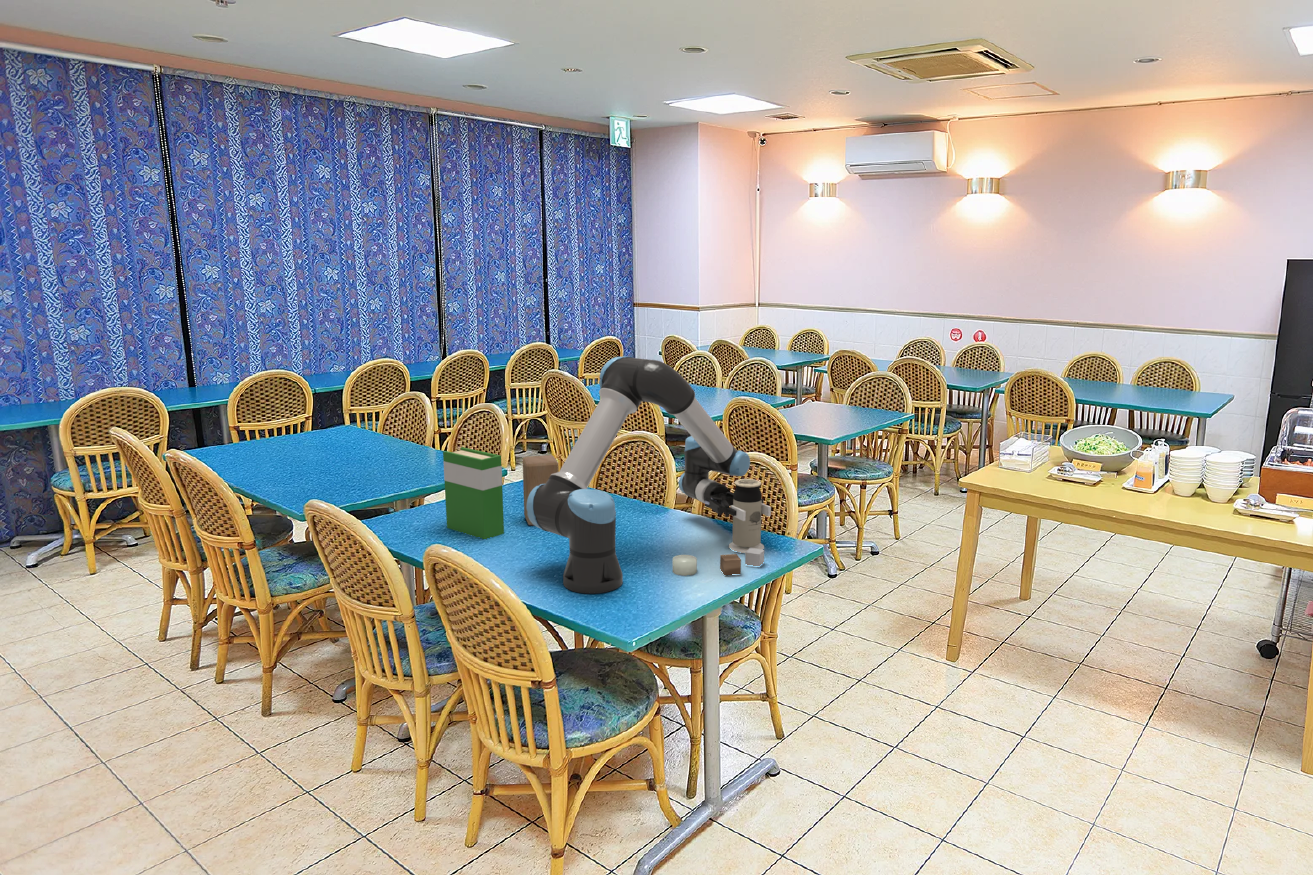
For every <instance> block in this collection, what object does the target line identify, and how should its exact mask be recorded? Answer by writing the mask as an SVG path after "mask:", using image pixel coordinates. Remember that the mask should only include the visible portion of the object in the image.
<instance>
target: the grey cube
mask: <svg viewBox="0 0 1313 875" xmlns="http://www.w3.org/2000/svg"><path fill="white" fill-rule="evenodd" d="M744 556H745V557H744V558H745V560H744V561H745V562H744V563H745V564H747V565H753V566H760V565H761V564H763V562H764V563H765V549H764V550H762V549H756V548H749V549H748V550H747V551H746V553H745V554H744ZM745 564H744V565H745ZM763 565H764V564H763Z"/></svg>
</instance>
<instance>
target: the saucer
mask: <svg viewBox="0 0 1313 875" xmlns="http://www.w3.org/2000/svg"><path fill="white" fill-rule="evenodd" d="M729 548H731V549H732V550H734V551H737V552H741V553H746V551H747V550H748V549H749V548H756V549H762V550H763V549H764V550H765V545H764V544H763V543H762V542H760V544H759V545H757V546H754V547H741V546H737V545H735V544H734V543H733V542H730V543H729V544H728V549H729ZM741 553H740V554H741Z"/></svg>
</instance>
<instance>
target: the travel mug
mask: <svg viewBox="0 0 1313 875" xmlns="http://www.w3.org/2000/svg"><path fill="white" fill-rule="evenodd" d="M734 485H735V490H734V492H732V493H733V506H735V507H737V508H740V509H742V510H744V511H746V517H745V521H742V520H740V519H738V518H736V517H734V516H732V538H731V540H732V542H733V543H734V544H735V545H737V546H741V547H754V546H757V545H759V544H760V543H762V542H761V539H762V538H761V535H762V513H761V508H762V499H763V493H762V491H761V485H762V482H761V481H759V480H758V479H753V478H741V479H737V480H735V481H734ZM732 542H731V543H732Z"/></svg>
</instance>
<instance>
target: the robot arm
mask: <svg viewBox="0 0 1313 875" xmlns="http://www.w3.org/2000/svg"><path fill="white" fill-rule="evenodd" d="M599 379H600V380H598V383H599V388H600V389H599V391H598V393H599V396H600V400H599V402H598V403H597V405H596V407H595V408H594V410H593V412H592V413H591V416H589V419H588V420H587V422H586V424H585V426H584V428H583V430H582V431H581V433H580V435H579V437H578V438H577V440H576V442H575V444H574V445H573V446H572V449H571V450H570V452H569V453H568V455H567V458H565V461H564V462H563V464H562V466H561V468H560V469H559V472H558V473H554V474H551V476H550V477H549V479H548V481H547V482H546V484H540V485H539V486H536V487H535V488H533V490H532V491H531V492H530V494H529V496H528V499H527V506H526V509H527V511H528V513H527V515H528V518H529V520H530V521H531V523H532V524H533V525H532V526H534V527H536V528H539V529H540V530H542V531H544V532H548V533H552V534H555V535H558V536H561V537H564V538H568V541H569V556H568V558H567V562H566V565H565V568H564V571H563V574H562V577H563V578H562V579H563V580H562V581H563V582H562V584H563V586H564V587H565V588H566V589H567V590H569V591H571V592H573V593H574V592H575V593H579V594H594V595H595V594H604V593H609V592H612V591H614V590H617V589H618V588H620V587H621V586H622V585H623V579H624V578H623V576H624V575H623V571H622V568H621V565H620V562H619V560H618V557H617V554H616V552H617V551H616V539H617V538H616V529H617V528H616V525H617V524H616V523H617V520H616V519H617V512H616V506H615V505H616V504H615V500H614V498H613V497H612V496H611V494H609V493H607V492H605V491H603V490H598V489H591V488H588V487H589V485H591V484H590V483H591V482H592V480H593V478H594V476H595V475H596V473H597V471H598V469H599V468H600V465H601V464H602V463H603V460H604V458H605V457H606V455H607V453H608V451H609V450H610V448H611V446H612V444H613V442H614V440H615V439H616V437H617V435H618V433H619V432H620V430H621V429H622V428H621V427H622V426H623V424H624V423H625V421H626V419H627V417H628V415H631V414H635V413H636V412H637V411H638V409H639V407H640V405H641V403H642V402H644V403H651V404H654V405H656V406H658V407H661V408H662V409H663V410H665V412H666V413H667V414H669V415H671V416H672V415H673V416H674V417H675V418H676V419H677V420H678V422H679V423H680V424H681V425H682V427H683V429H685V430H686V431H687V433H688V434H689V435H690V436H687V438H685V443H684V444H685V445H684V472H683V473H681V475H680V477H679V479H678V488H679V490H680V491H681V492H682V494H685V495H686V496H687V497H689V498H692V499H693V500H694V499H695V500H697V501H699V502H700V503H703V504H704V507H706V508H709V509H711V510H712V511H713V512H714V513H717V515H719V516H722V515H724V517H725V518H729V517H730V516H732V517H733V516H734V517H736V518H738V519H740V520H742V521H745V517H746V511H744V510H742V509H740V508H737V507H735V506H733V493H734V492H731V491H730V489H729V487H728V486H726V485H725V484H722V483H720V482H718V481H716V480H713V479H711V478H710V477H709V476H710V471H711V472H716V473H720V474H724V475H728V476H731V477H733V476H734V477H743V476H745V475H746V474H747V473H748V471H749V469H750V466H751V459H750V455H749V454H748V453H747V452H745V451H743V450H737V449H736V448H735V447H734V446H733V444H732V443H731V441H730V440H729V438H727V436H725V434H724V433H723V432H722V430H721V429H720V428H719V426H718V425H717V424H716V423H715V421H714V420H713V419H712V417H711V416H710V415H709V414H708V412H707V411H706V410H705V409H704V407H703V406H702V404H700V401H698V399H697V398H696V391H695V390H694V388H692V386H691V385H690V384H689V382H688V381H687V380H686V378H684V377H683V375H681V374H680V373H679V372H678V371H676V370H675V369H674V368H673V367H672V366H670V365H668V364H667V363H665V362H663V361H661V360H658V359H657V360H656V359H646V358H636V357H633V356H627V355H626V356H625V355H624V356H615V357H612V358H611V359H609V360H608V361H606V363H604V365H603V366H602V368H601V371H600V373H599ZM771 513H772V507H771V506H770V505H767V504H765V502H764V499H763V498H762V508H761V515H764V516H765V517H771V515H772V514H771Z"/></svg>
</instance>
